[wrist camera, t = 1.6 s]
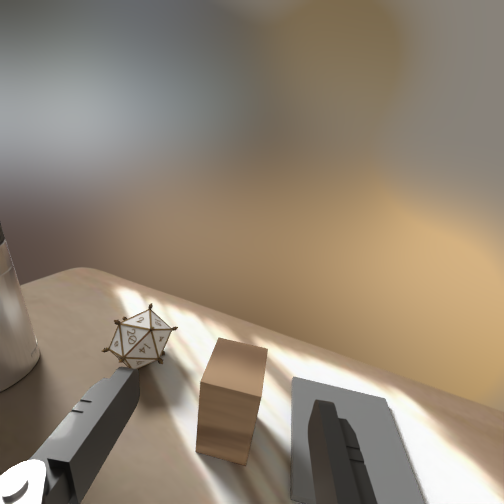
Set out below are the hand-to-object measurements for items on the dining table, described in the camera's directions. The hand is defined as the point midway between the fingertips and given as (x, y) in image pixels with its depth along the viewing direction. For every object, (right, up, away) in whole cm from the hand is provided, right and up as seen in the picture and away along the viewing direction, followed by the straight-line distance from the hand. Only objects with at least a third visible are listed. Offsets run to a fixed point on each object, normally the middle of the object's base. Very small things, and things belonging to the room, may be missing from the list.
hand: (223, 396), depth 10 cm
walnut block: (-2, -14, +17) cm, 22 cm away
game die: (-15, -10, +24) cm, 30 cm away
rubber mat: (+12, -16, +18) cm, 27 cm away
